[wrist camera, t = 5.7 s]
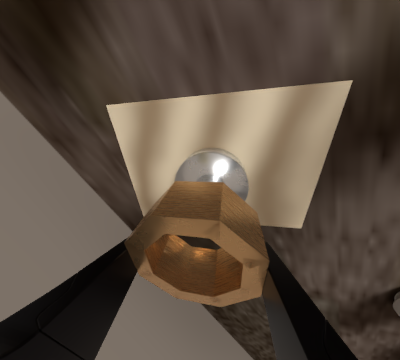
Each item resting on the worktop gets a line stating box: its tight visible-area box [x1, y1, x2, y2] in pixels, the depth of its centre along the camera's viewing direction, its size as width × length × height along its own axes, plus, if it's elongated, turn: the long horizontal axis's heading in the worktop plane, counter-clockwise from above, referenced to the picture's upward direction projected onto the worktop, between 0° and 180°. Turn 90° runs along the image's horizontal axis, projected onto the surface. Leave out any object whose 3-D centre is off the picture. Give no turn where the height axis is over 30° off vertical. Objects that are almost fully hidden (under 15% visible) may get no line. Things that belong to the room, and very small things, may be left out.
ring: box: [124, 181, 269, 307], centre depth 8 cm, size 7×7×3 cm
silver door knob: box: [175, 148, 249, 201], centre depth 12 cm, size 7×7×6 cm
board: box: [106, 80, 353, 228], centre depth 15 cm, size 20×14×1 cm
